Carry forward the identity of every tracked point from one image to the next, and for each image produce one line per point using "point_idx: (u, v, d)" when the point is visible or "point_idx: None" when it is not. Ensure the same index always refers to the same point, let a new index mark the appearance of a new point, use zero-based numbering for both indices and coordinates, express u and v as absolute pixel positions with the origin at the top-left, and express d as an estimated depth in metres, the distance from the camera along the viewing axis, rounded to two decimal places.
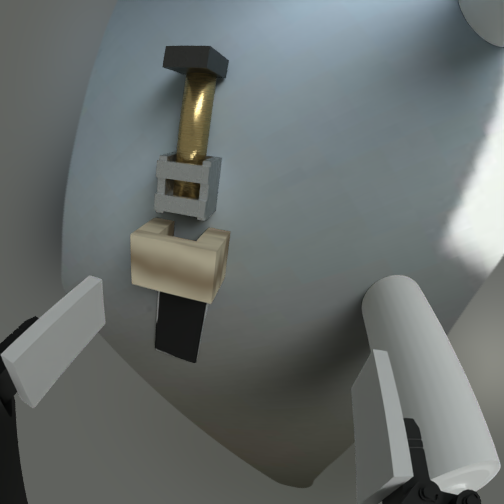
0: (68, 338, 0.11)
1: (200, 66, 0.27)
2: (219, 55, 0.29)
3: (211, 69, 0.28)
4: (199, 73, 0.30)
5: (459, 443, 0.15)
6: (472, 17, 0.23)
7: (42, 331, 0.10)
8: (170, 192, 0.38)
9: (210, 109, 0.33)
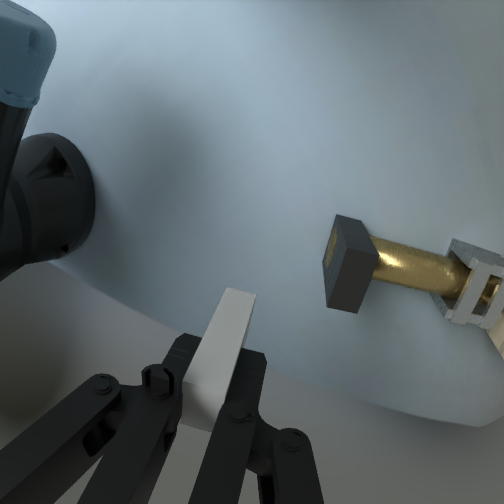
0: None
1: (374, 263, 0.20)
2: (344, 230, 0.24)
3: (373, 246, 0.22)
4: None
5: None
6: None
7: (216, 348, 0.11)
8: (475, 306, 0.26)
9: (406, 247, 0.25)
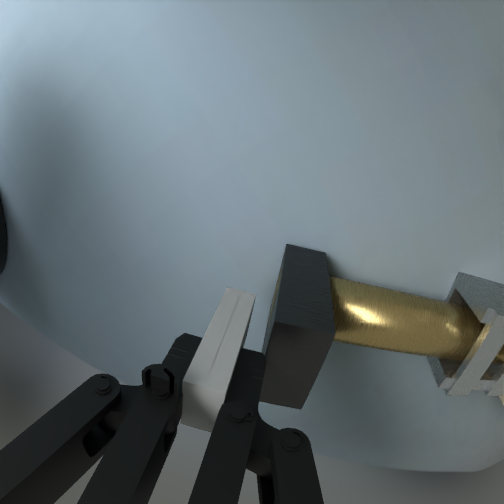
0: None
1: (327, 346, 0.12)
2: (286, 277, 0.15)
3: (330, 309, 0.13)
4: None
5: None
6: None
7: (216, 348, 0.11)
8: None
9: (394, 296, 0.16)
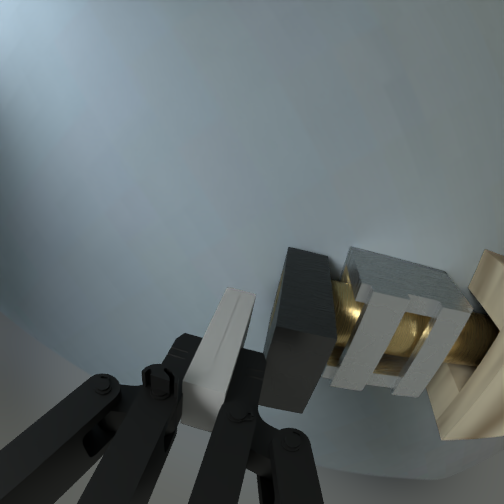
0: None
1: (328, 351, 0.12)
2: (288, 281, 0.15)
3: (332, 314, 0.13)
4: None
5: None
6: None
7: (216, 348, 0.11)
8: (395, 356, 0.18)
9: None
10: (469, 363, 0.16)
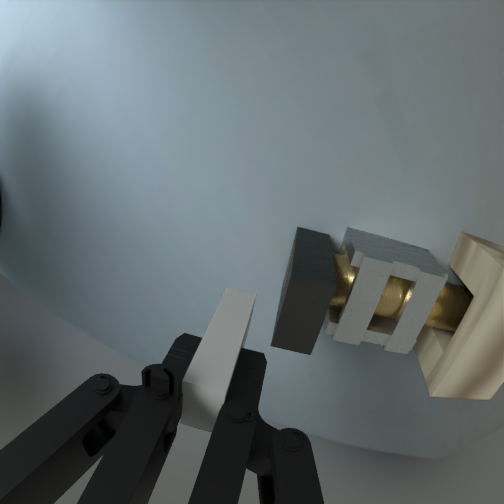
0: None
1: (330, 295, 0.16)
2: (298, 248, 0.19)
3: (332, 271, 0.17)
4: None
5: None
6: None
7: (216, 348, 0.11)
8: (387, 320, 0.22)
9: None
10: (451, 327, 0.20)
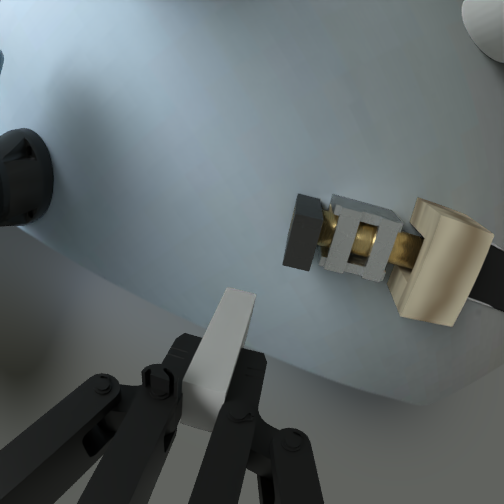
0: None
1: (320, 227, 0.26)
2: (299, 203, 0.29)
3: (321, 214, 0.27)
4: None
5: None
6: None
7: (216, 348, 0.11)
8: (363, 259, 0.32)
9: None
10: (412, 265, 0.30)
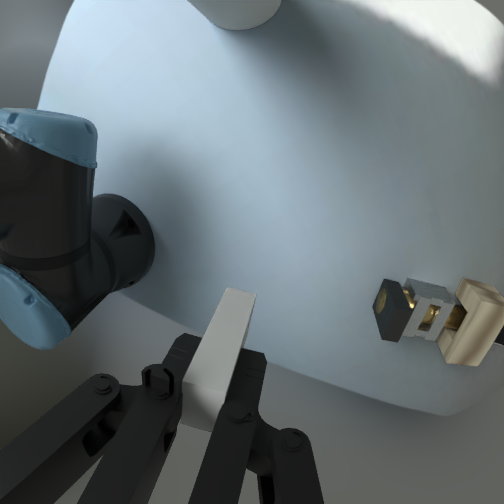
0: None
1: (410, 316, 0.34)
2: (391, 293, 0.38)
3: (408, 304, 0.36)
4: None
5: None
6: (260, 19, 0.30)
7: (216, 348, 0.11)
8: (424, 324, 0.41)
9: None
10: (456, 327, 0.38)
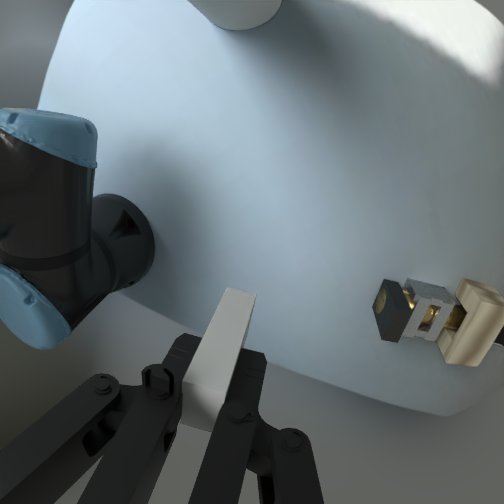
0: None
1: (409, 316, 0.34)
2: (391, 294, 0.38)
3: (408, 305, 0.36)
4: None
5: None
6: (260, 20, 0.30)
7: (216, 348, 0.11)
8: (424, 324, 0.41)
9: None
10: (455, 327, 0.38)
